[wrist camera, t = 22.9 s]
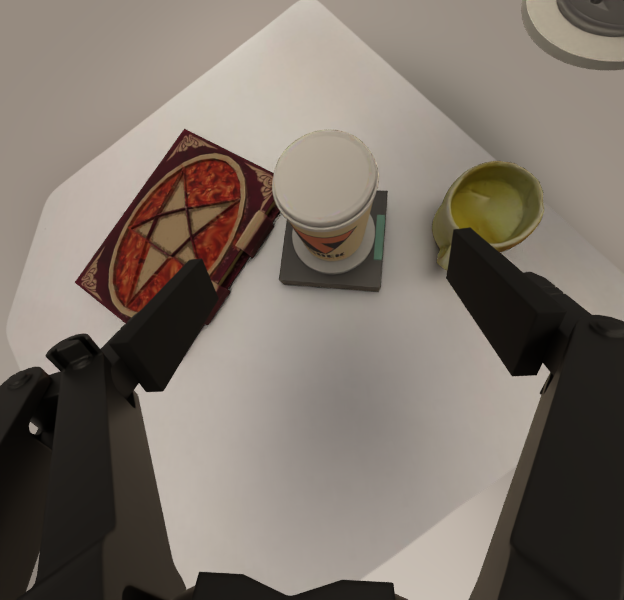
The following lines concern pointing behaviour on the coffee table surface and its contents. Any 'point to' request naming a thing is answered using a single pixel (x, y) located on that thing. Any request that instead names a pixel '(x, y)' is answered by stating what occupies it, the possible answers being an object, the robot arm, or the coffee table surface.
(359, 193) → the coffee cup
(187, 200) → the book
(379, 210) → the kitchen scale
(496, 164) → the mug
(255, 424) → the coffee table surface
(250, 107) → the coffee table surface
